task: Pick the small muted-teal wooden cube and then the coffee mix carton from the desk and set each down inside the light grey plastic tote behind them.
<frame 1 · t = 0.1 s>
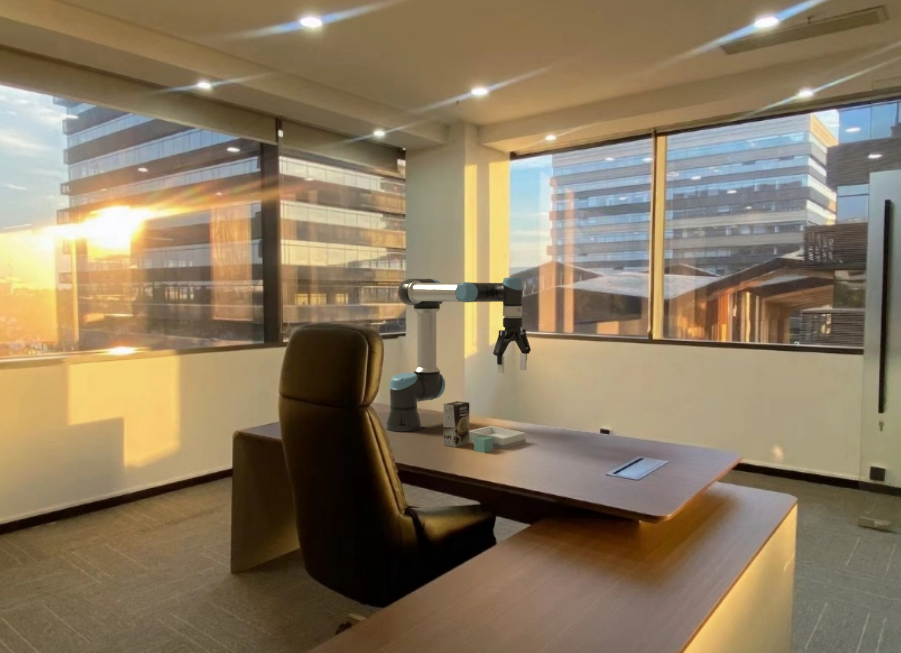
hand: (512, 371, 245), 28 cm above the table, fingers open, 13 cm apart
teal cube: (483, 450, 233), on the table
tote: (496, 442, 247), on the table
coffee box: (456, 444, 243), on the table
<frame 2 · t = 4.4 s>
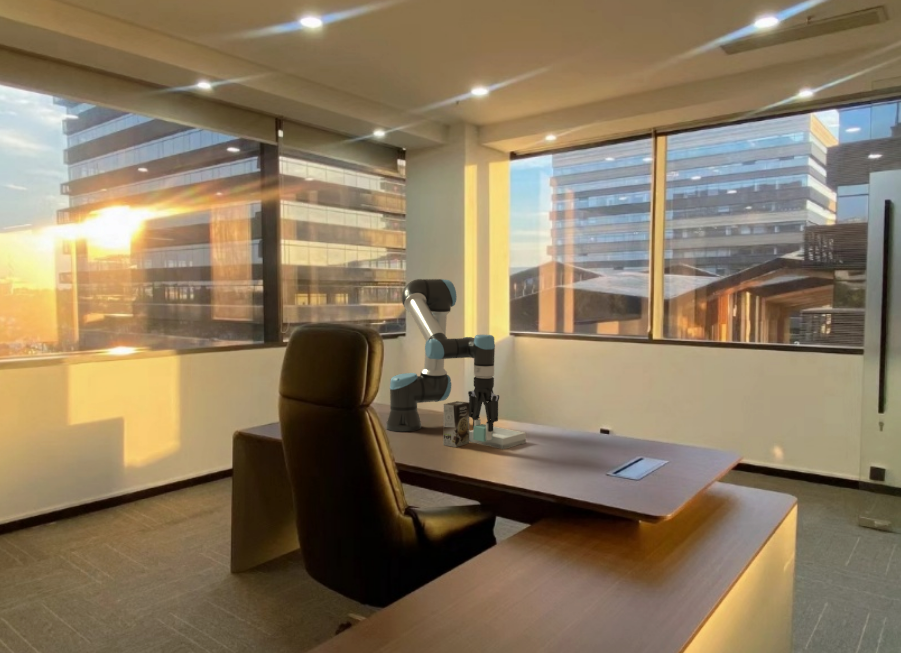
hand: (482, 438, 234), 4 cm above the table, fingers closed on teal cube, 5 cm apart
teal cube: (482, 439, 234), point 4 cm above the table, touching gripper
everything else where it was.
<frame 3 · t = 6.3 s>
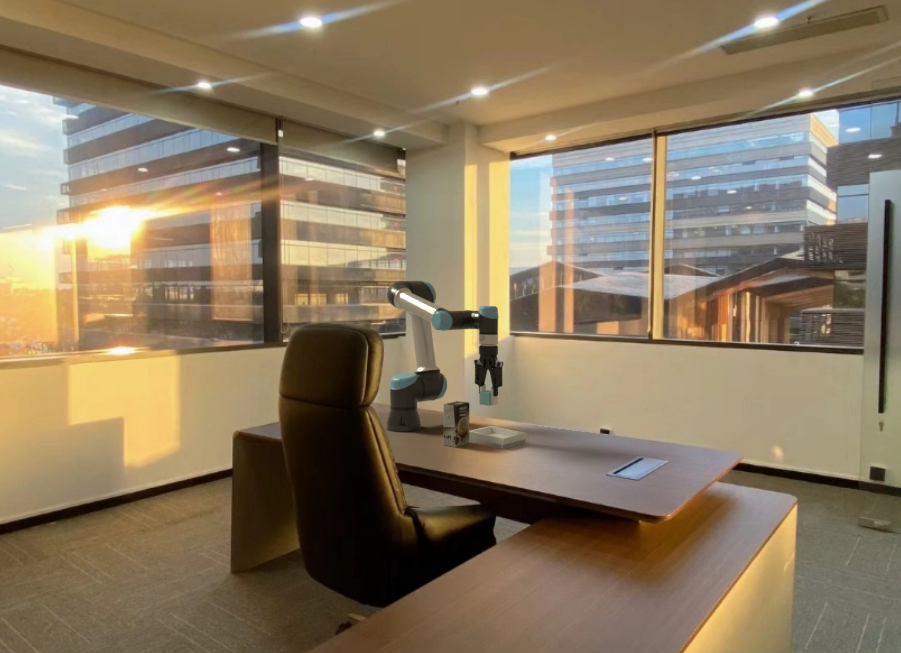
hand: (488, 403, 249), 15 cm above the table, fingers closed on teal cube, 5 cm apart
teal cube: (488, 404, 249), point 14 cm above the table, touching gripper
everything else where it was.
when the fingers open (4 cm above the table, at t = 8.4 s): teal cube drops 2 cm, resting on tote.
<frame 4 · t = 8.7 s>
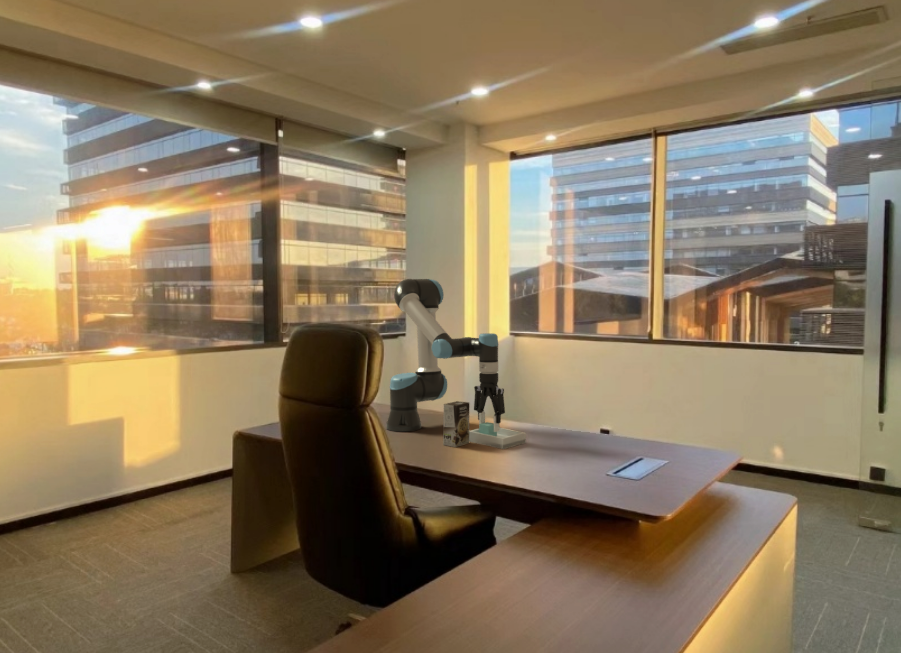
hand: (489, 429, 249), 4 cm above the table, fingers open, 7 cm apart
teal cube: (488, 436, 250), point 1 cm above the table, touching tote
everything else where it was.
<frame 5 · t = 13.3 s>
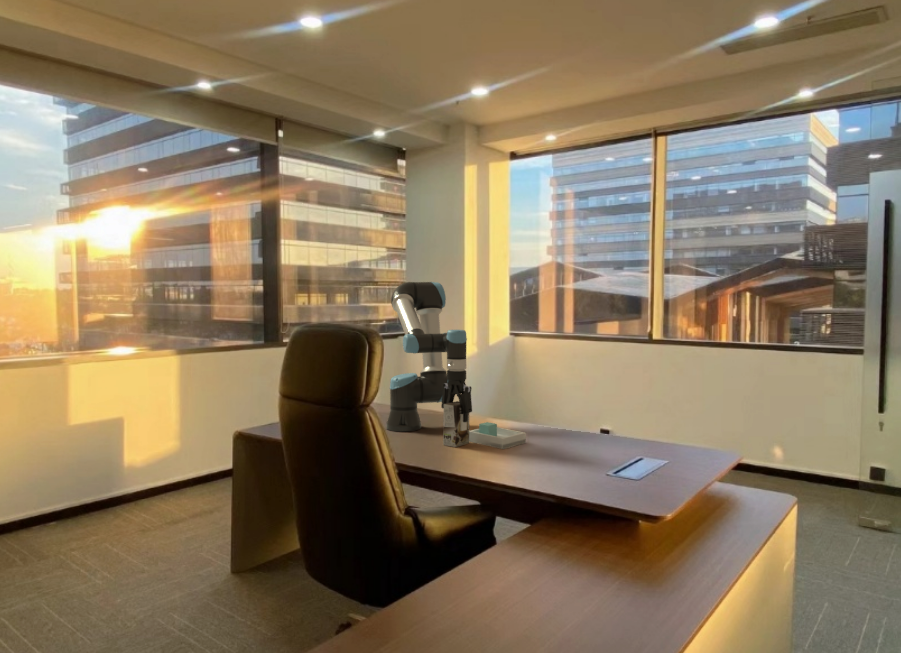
hand: (456, 428, 243), 6 cm above the table, fingers closed on coffee box, 7 cm apart
coffee box: (456, 444, 243), on the table, touching gripper
everything else where it was.
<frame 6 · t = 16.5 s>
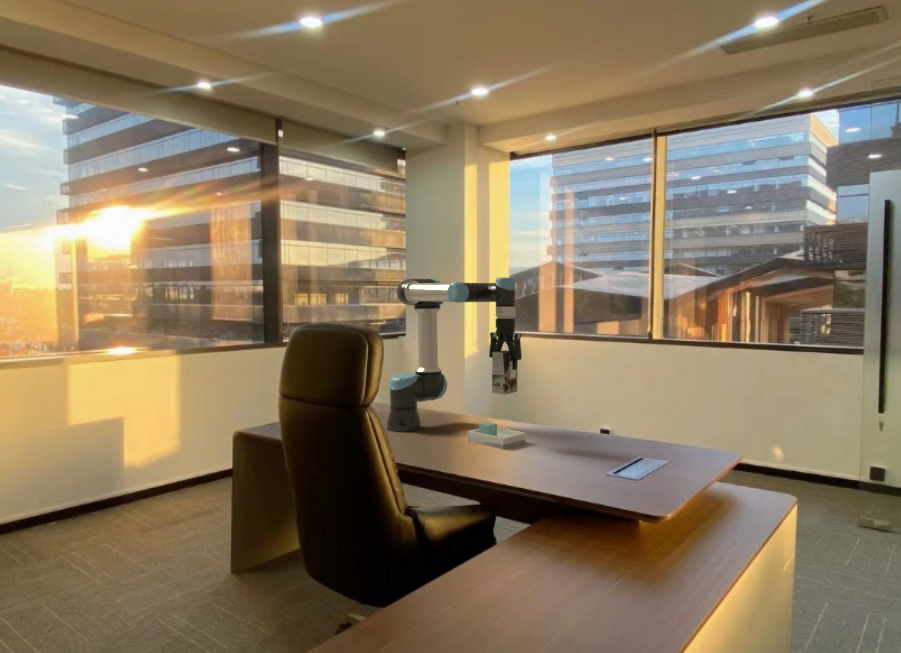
hand: (505, 377, 242), 26 cm above the table, fingers closed on coffee box, 7 cm apart
coffee box: (504, 393, 243), point 20 cm above the table, touching gripper
everything else where it was.
when the fingers open (9 cm above the table, at t = 19.8 s): coffee box drops 2 cm, resting on tote.
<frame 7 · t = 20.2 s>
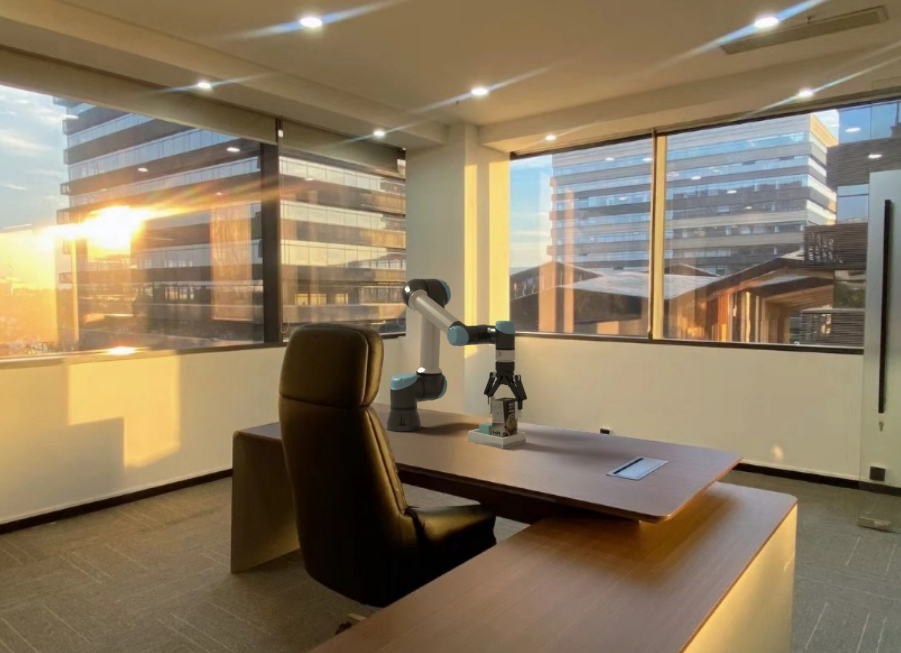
hand: (504, 415, 243), 11 cm above the table, fingers open, 12 cm apart
coffee box: (504, 440, 243), point 1 cm above the table, touching tote
everything else where it was.
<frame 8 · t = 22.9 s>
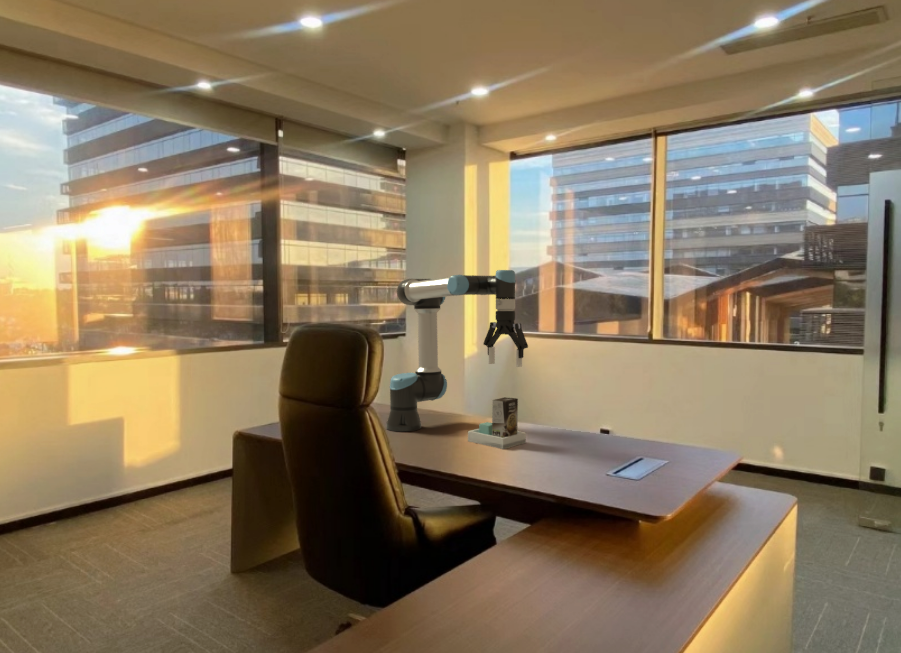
hand: (505, 365, 242), 31 cm above the table, fingers open, 13 cm apart
nothing on the table moved.
at the end: teal cube inside the target area on the tote (4.5 cm from its centre), point 1.5 cm above the tote's base; coffee box inside the target area on the tote (4.3 cm from its centre), point 1.3 cm above the tote's base; the gripper is holding nothing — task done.
